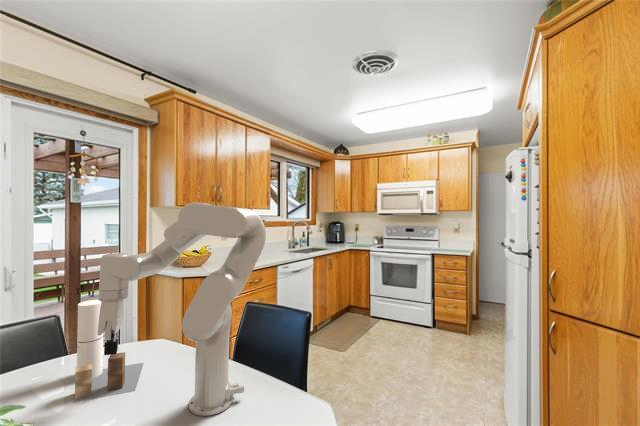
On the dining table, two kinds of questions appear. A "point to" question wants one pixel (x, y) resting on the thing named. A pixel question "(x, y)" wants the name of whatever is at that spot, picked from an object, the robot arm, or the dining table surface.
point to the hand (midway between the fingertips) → (110, 353)
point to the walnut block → (116, 371)
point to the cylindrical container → (89, 337)
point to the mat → (101, 381)
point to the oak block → (83, 381)
